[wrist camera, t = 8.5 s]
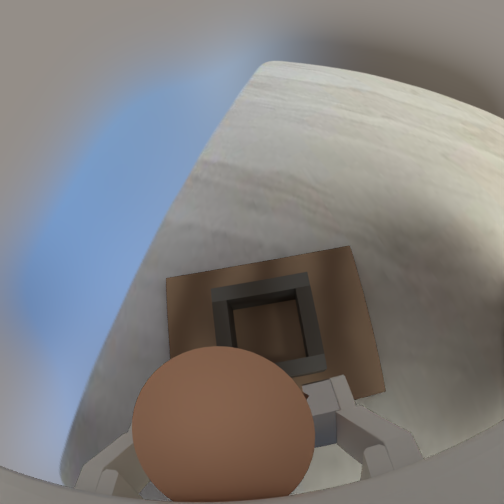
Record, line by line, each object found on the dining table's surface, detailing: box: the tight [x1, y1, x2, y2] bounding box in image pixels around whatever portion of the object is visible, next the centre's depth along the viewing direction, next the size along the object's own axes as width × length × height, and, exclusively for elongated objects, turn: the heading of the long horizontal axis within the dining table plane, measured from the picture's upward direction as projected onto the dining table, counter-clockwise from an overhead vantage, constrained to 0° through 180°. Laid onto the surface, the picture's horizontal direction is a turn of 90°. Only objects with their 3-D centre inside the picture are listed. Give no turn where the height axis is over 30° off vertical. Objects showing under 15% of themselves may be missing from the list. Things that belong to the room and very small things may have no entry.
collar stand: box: [166, 246, 386, 400], centre depth 26 cm, size 18×14×4 cm
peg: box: [132, 346, 315, 502], centre depth 11 cm, size 4×4×10 cm
